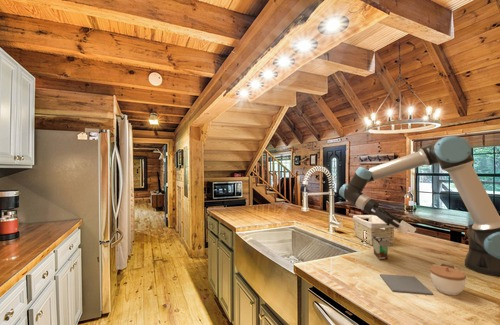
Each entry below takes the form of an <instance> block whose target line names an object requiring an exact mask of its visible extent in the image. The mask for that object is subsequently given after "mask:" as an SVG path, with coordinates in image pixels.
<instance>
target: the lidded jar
mask: <svg viewBox="0 0 500 325" xmlns="http://www.w3.org/2000/svg"><path fill="white" fill-rule="evenodd" d="M429 272H430V273H429V274H430V275H429V276H430V280H431V282H432V284H433V285H434V287H435V288H436V289H437V291H439V292H440V293H442V294H444V295H448V296H458V295H459V294H460V293H462V292H463V291H464V289H465V287H466V279H467V277H466V274H465V272H463V271H461V270H459V269H456V268H454V269H453V268H450V267H446V266H440V265H432V266H430V267H429Z"/></svg>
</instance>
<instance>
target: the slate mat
mask: <svg viewBox="0 0 500 325" xmlns="http://www.w3.org/2000/svg"><path fill="white" fill-rule="evenodd" d="M379 276H380V277H381V279H382V280H383V282H384V283H385V284H386V285H387V287H388V288H389V289H390V290H391V291H392V292H393V293H402V294H403V293H404V294H405V293H407V294H416V295H418V294H419V295H429V296H433V295H434V292H432V291H431V290H430V289H429V288H428V287H427V286H426V285H424V284H423V283H422V282H421V280H419V279H418V278H417V277H416V276H414V275H413V276H412V275H400V274H399V275H398V274H384V273H379Z"/></svg>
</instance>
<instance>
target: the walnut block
mask: <svg viewBox="0 0 500 325" xmlns="http://www.w3.org/2000/svg"><path fill="white" fill-rule="evenodd" d="M439 266H446V267H450V268H453V269H455V267H454V265H451V264H446V263H441V264H440V265H439Z"/></svg>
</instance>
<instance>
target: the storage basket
mask: <svg viewBox="0 0 500 325" xmlns="http://www.w3.org/2000/svg"><path fill="white" fill-rule="evenodd" d="M352 220H353V227H354V228H353V229H354V236H356V237H357V238H359V239H360V240H362V241H364V240H363V230H365V231H367V232H365V233H367V234H366V237H367V239H366V240H367V241H366V242H365V243H367V244H368V245H371V246H373V235H374V236H381V237H385V238H387V239H388V241H389V245H388V247H389V246H393V245H394V240H395V237H394V236H395V228H394V227H393V226H391V225H389V226H388V225H386V224H387V223H385V222H384V221H382V220H381V219H380V218H378V217H377V216H376V215H374V214H372V215H369V214H357V215H356V214H355V215H352ZM367 220H368V221H367Z"/></svg>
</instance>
